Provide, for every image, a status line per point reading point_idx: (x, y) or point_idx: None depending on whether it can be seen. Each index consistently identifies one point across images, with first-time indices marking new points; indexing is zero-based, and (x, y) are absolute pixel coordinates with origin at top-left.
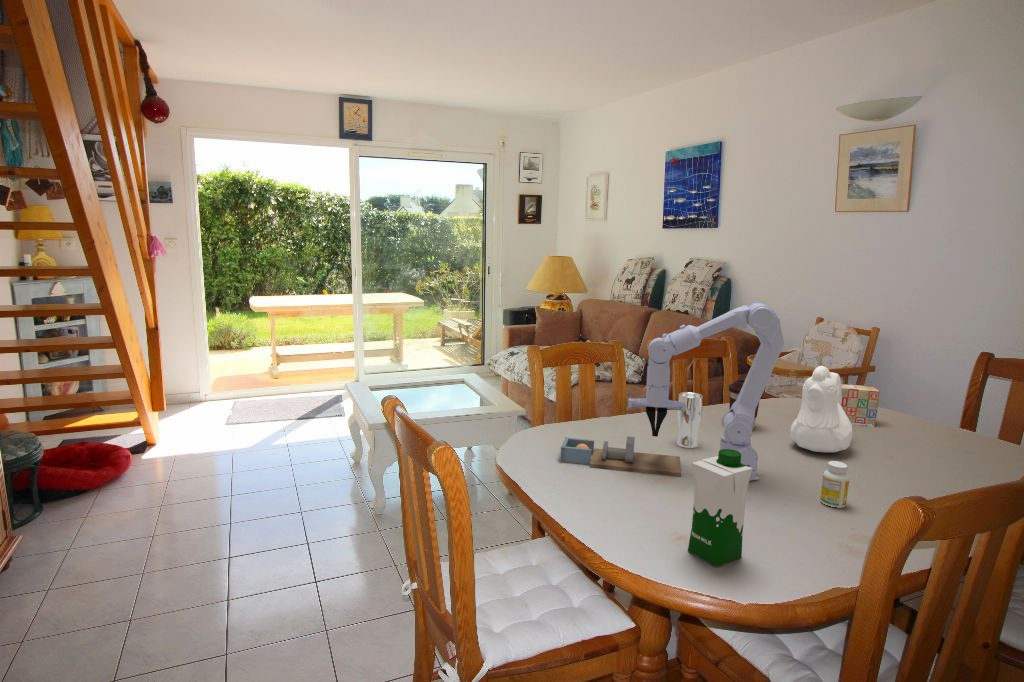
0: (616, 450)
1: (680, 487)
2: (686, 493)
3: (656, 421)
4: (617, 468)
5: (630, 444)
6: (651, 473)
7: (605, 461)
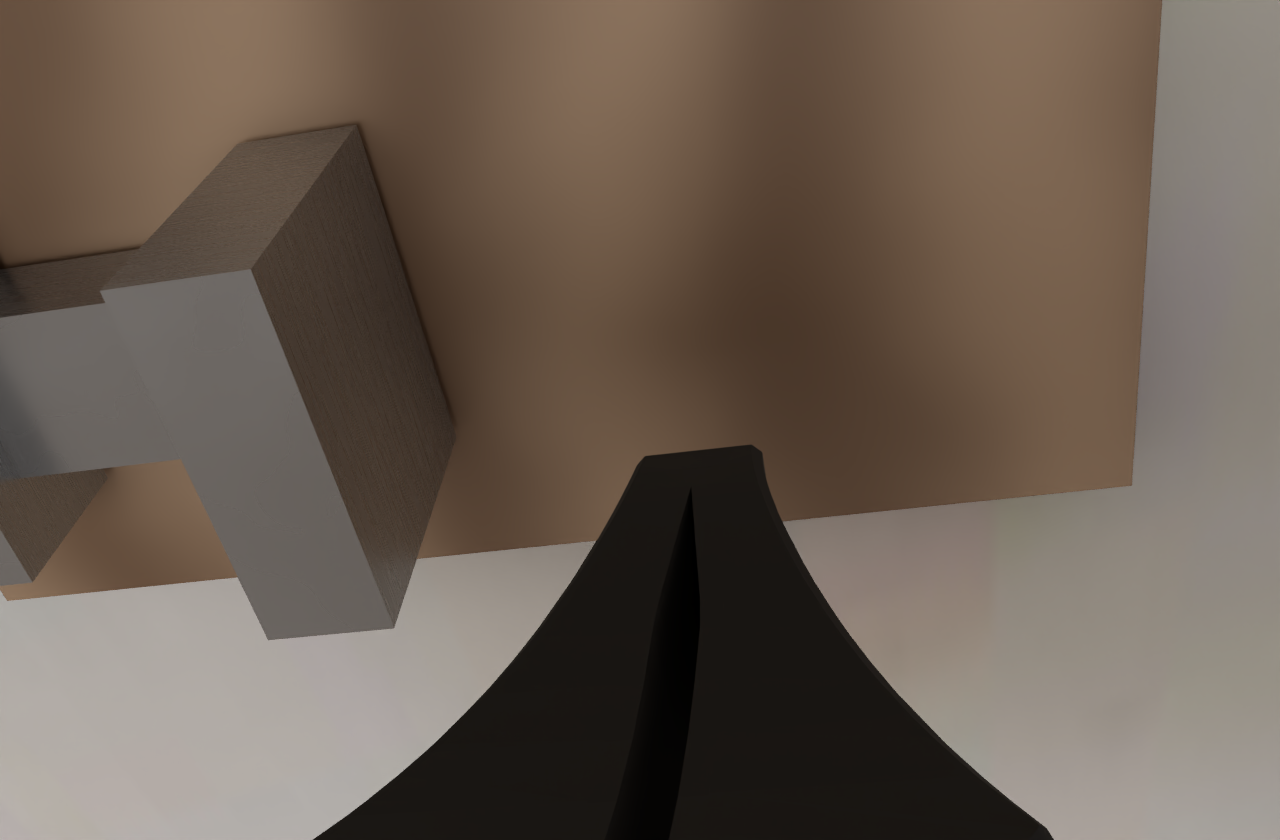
0: (132, 415)
1: (1085, 702)
2: (1135, 793)
3: (703, 633)
4: None
5: (339, 624)
6: None
7: (119, 481)
